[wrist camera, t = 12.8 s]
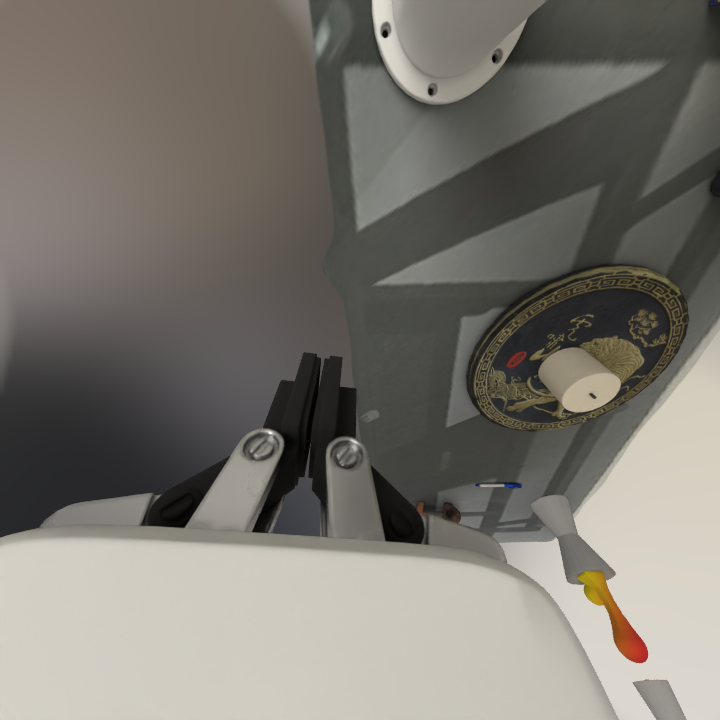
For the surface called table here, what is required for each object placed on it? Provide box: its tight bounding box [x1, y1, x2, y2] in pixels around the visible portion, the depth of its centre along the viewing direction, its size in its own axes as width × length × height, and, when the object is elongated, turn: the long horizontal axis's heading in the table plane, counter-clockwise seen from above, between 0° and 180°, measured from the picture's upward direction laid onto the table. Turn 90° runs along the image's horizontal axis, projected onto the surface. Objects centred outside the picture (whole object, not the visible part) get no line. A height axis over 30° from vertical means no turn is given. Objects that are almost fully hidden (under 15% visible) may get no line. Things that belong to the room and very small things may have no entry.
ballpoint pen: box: [476, 484, 522, 488], centre depth 62 cm, size 10×1×1 cm, turn 91°
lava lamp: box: [531, 495, 686, 720], centre depth 53 cm, size 9×9×35 cm
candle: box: [538, 348, 621, 412], centre depth 38 cm, size 7×7×7 cm
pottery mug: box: [416, 502, 461, 523], centre depth 66 cm, size 12×10×8 cm
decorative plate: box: [466, 264, 689, 431], centre depth 41 cm, size 30×2×30 cm
